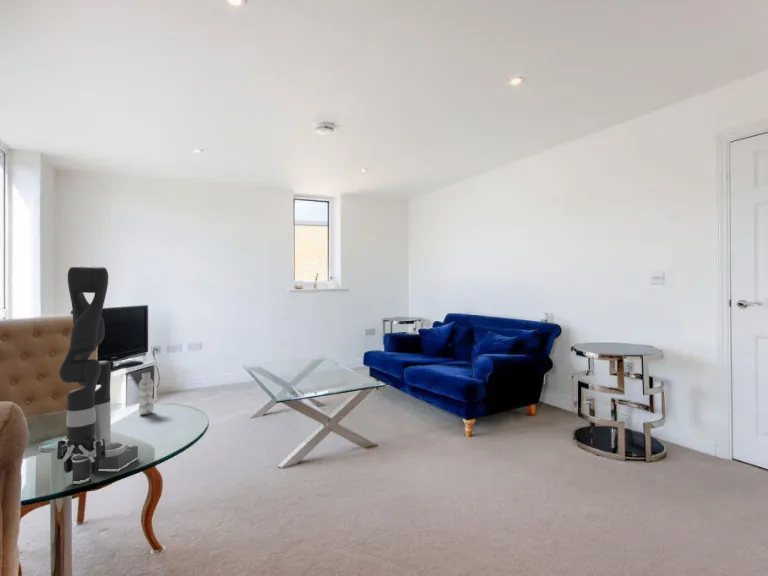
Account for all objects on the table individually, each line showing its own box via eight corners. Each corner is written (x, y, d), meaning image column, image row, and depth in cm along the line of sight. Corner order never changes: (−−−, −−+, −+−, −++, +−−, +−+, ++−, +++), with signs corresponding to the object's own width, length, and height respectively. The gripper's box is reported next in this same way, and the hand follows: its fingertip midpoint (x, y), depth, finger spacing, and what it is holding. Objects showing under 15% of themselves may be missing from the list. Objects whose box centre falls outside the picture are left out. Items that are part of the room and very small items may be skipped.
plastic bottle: (150, 411, 200) (150, 371, 200) (156, 413, 196) (156, 373, 196) (136, 414, 195) (136, 373, 195) (141, 417, 191) (141, 375, 191)
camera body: (89, 471, 136) (89, 451, 136) (111, 458, 146) (111, 439, 146) (118, 472, 136) (118, 451, 136) (137, 459, 146) (137, 440, 146)
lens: (68, 484, 127) (68, 459, 127) (80, 477, 132) (80, 452, 132) (82, 485, 127) (82, 459, 127) (94, 478, 132) (94, 453, 132)
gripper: (49, 425, 126) (50, 477, 126) (93, 426, 125) (94, 478, 125) (69, 417, 133) (70, 466, 133) (111, 418, 133) (111, 467, 133)
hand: (81, 472), depth 129 cm, fingers open, 8 cm apart
